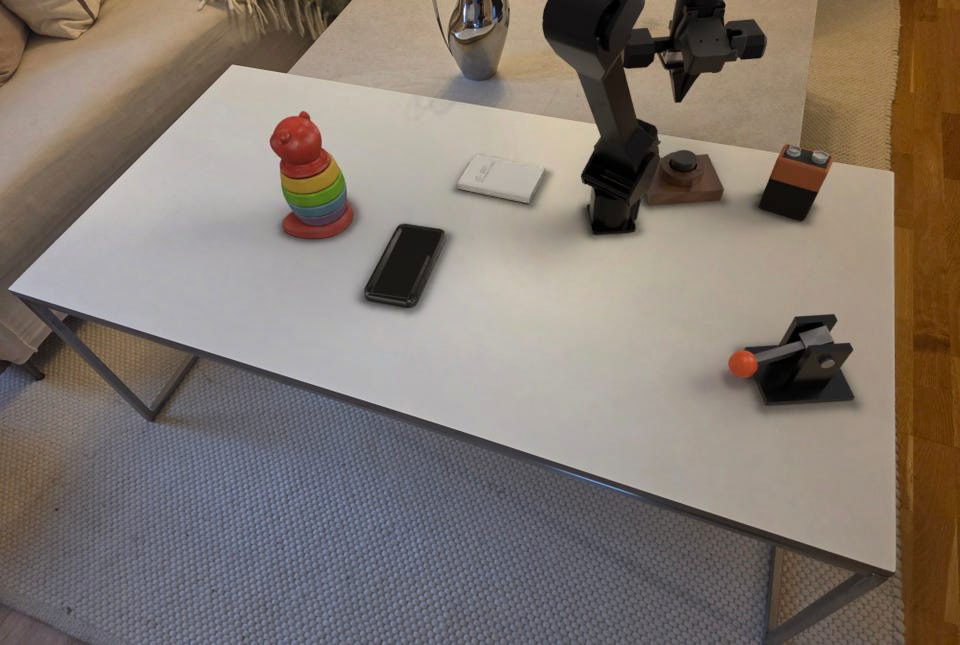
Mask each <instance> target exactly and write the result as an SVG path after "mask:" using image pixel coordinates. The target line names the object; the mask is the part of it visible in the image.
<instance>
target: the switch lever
mask: <svg viewBox="0 0 960 645" xmlns="http://www.w3.org/2000/svg"><path fill="white" fill-rule="evenodd" d="M799 336H800V340H801V341H798V342H794V343H791V344H788V345H784V346H781V347H777V348H774V349H771V350H767V351H764V352H761V353H757V354H754V355H753V354H752V353H751V352H748V351H744V349H743V350H737V351H734V352H733V353H732V354H730V356H729V358H728V360H727V368H728V370H729V371H730V373H731V374H732V375H733V376H735V377H737V378H740V379H746V378H750V377H752V376H754V373H755V372H756V371H757V368H758V366H760V365H764V364H767V363H771V362H774V361H778V360H781V359H785V358H788V357H792V356H795V355H799V354H802V353H804V352H805V350H806V348H807V347H808V345H821V344H835V340H834V338H833V336H832V334H831V332H829V330H828V328H827V326H822V327H819V328H815V329H812V330H809V331H805V332H802V333H799Z"/></svg>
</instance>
